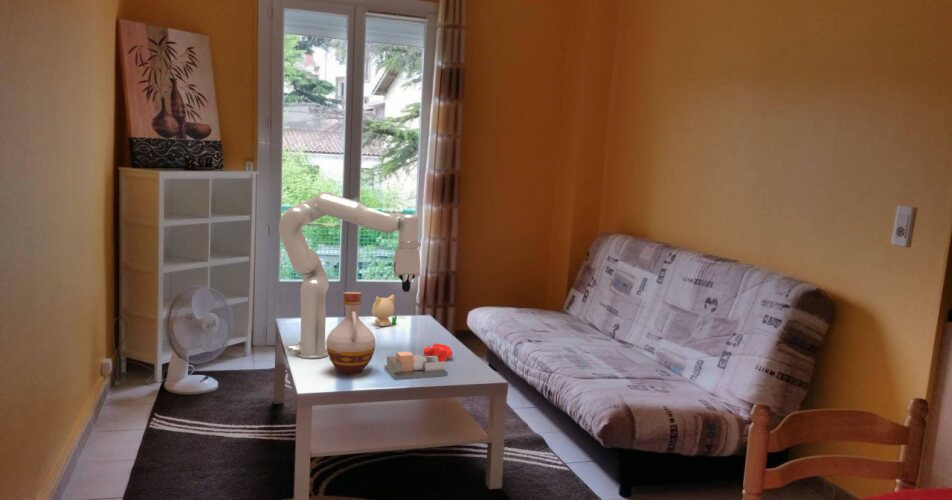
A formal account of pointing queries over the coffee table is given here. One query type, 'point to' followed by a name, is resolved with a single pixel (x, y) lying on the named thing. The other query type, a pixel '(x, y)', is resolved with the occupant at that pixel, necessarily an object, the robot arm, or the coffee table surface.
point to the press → (430, 370)
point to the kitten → (384, 310)
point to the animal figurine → (438, 351)
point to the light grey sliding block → (418, 362)
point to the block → (405, 360)
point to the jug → (351, 339)
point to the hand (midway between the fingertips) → (405, 291)
